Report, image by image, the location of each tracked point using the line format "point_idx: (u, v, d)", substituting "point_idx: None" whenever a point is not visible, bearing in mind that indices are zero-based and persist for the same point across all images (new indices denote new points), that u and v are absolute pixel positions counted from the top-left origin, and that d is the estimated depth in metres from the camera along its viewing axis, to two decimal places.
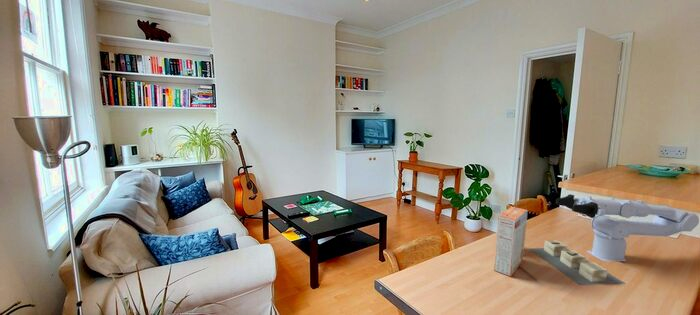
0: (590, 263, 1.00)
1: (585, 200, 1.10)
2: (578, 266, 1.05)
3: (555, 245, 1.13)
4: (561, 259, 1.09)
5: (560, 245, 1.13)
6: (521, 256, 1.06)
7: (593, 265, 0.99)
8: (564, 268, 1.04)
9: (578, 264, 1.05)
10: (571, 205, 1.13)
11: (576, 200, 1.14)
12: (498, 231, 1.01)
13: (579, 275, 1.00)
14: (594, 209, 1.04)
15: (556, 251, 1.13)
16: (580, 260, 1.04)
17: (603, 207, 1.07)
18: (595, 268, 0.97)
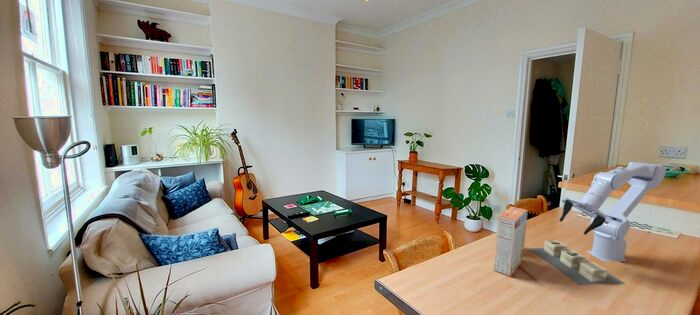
0: (590, 263, 1.00)
1: (585, 206, 1.03)
2: (578, 266, 1.05)
3: (555, 245, 1.13)
4: (561, 259, 1.09)
5: (560, 245, 1.13)
6: (521, 256, 1.06)
7: (593, 265, 0.99)
8: (564, 268, 1.04)
9: (578, 264, 1.05)
10: (570, 209, 1.07)
11: (573, 202, 1.07)
12: (498, 231, 1.01)
13: (579, 275, 1.00)
14: None
15: (556, 251, 1.13)
16: (580, 260, 1.04)
17: (602, 203, 1.03)
18: (595, 268, 0.97)
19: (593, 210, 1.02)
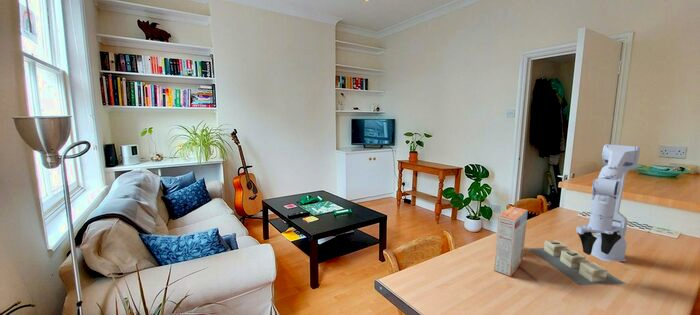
0: (590, 263, 1.00)
1: None
2: (578, 266, 1.05)
3: (555, 245, 1.13)
4: (561, 259, 1.09)
5: (560, 245, 1.13)
6: (521, 256, 1.06)
7: (593, 265, 0.99)
8: (564, 268, 1.04)
9: (578, 264, 1.05)
10: None
11: None
12: (498, 231, 1.01)
13: (579, 275, 1.00)
14: None
15: (556, 251, 1.13)
16: (580, 260, 1.04)
17: None
18: (595, 268, 0.97)
19: None
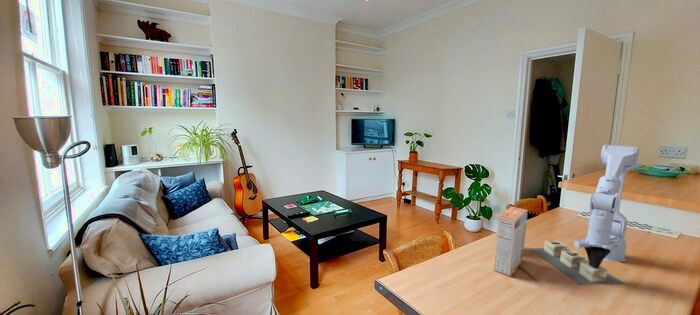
0: None
1: None
2: (578, 266, 1.05)
3: (555, 245, 1.13)
4: (561, 259, 1.09)
5: (560, 245, 1.13)
6: (521, 256, 1.06)
7: None
8: (564, 268, 1.04)
9: (578, 264, 1.05)
10: None
11: None
12: (498, 231, 1.01)
13: (579, 275, 1.00)
14: None
15: (556, 251, 1.13)
16: (580, 260, 1.04)
17: None
18: (595, 268, 0.97)
19: None
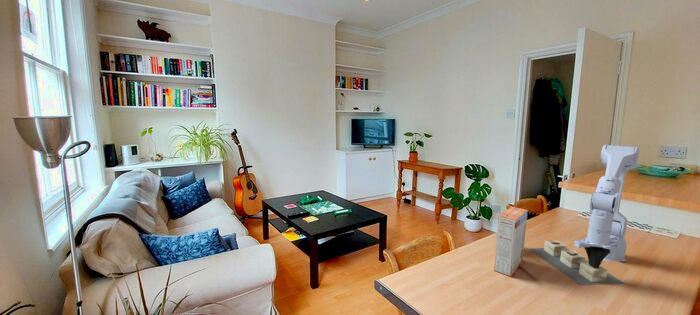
0: None
1: None
2: (578, 266, 1.05)
3: (555, 245, 1.13)
4: (561, 259, 1.09)
5: (560, 245, 1.13)
6: (521, 256, 1.06)
7: None
8: (564, 268, 1.04)
9: (578, 264, 1.05)
10: None
11: None
12: (498, 231, 1.01)
13: (579, 275, 1.00)
14: None
15: (556, 251, 1.13)
16: (580, 260, 1.04)
17: None
18: (595, 268, 0.97)
19: None
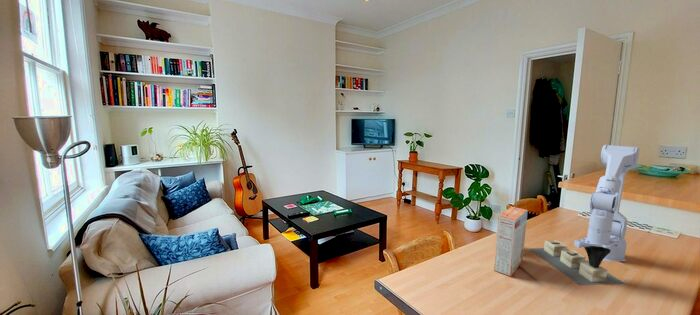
0: None
1: None
2: (578, 266, 1.05)
3: (555, 245, 1.13)
4: (561, 259, 1.09)
5: (560, 245, 1.13)
6: (521, 256, 1.06)
7: None
8: (564, 268, 1.04)
9: (578, 264, 1.05)
10: None
11: None
12: (498, 231, 1.01)
13: (579, 275, 1.00)
14: None
15: (556, 251, 1.13)
16: (580, 260, 1.04)
17: None
18: (595, 268, 0.97)
19: None
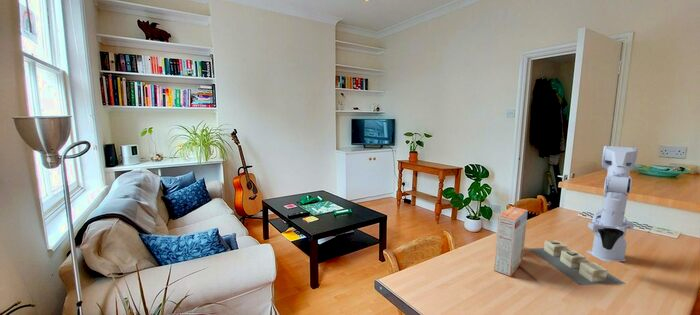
0: (590, 263, 1.00)
1: None
2: (578, 266, 1.05)
3: (555, 245, 1.13)
4: (561, 259, 1.09)
5: (560, 245, 1.13)
6: (521, 256, 1.06)
7: (593, 265, 0.99)
8: (564, 268, 1.04)
9: (578, 264, 1.05)
10: None
11: None
12: (498, 231, 1.01)
13: (579, 275, 1.00)
14: None
15: (556, 251, 1.13)
16: (580, 260, 1.04)
17: None
18: (595, 268, 0.97)
19: None
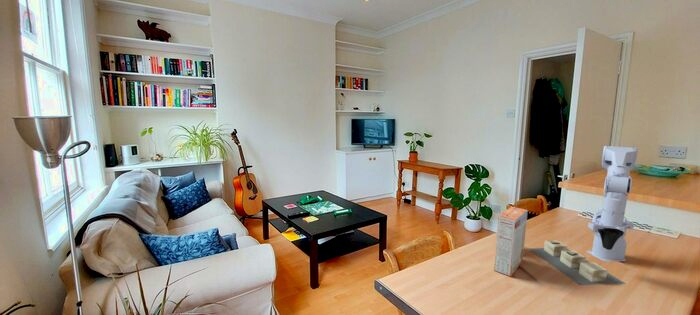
0: (590, 263, 1.00)
1: None
2: (578, 266, 1.05)
3: (555, 245, 1.13)
4: (561, 259, 1.09)
5: (560, 245, 1.13)
6: (521, 256, 1.06)
7: (593, 265, 0.99)
8: (564, 268, 1.04)
9: (578, 264, 1.05)
10: None
11: None
12: (498, 231, 1.01)
13: (579, 275, 1.00)
14: None
15: (556, 251, 1.13)
16: (580, 260, 1.04)
17: None
18: (595, 268, 0.97)
19: None
